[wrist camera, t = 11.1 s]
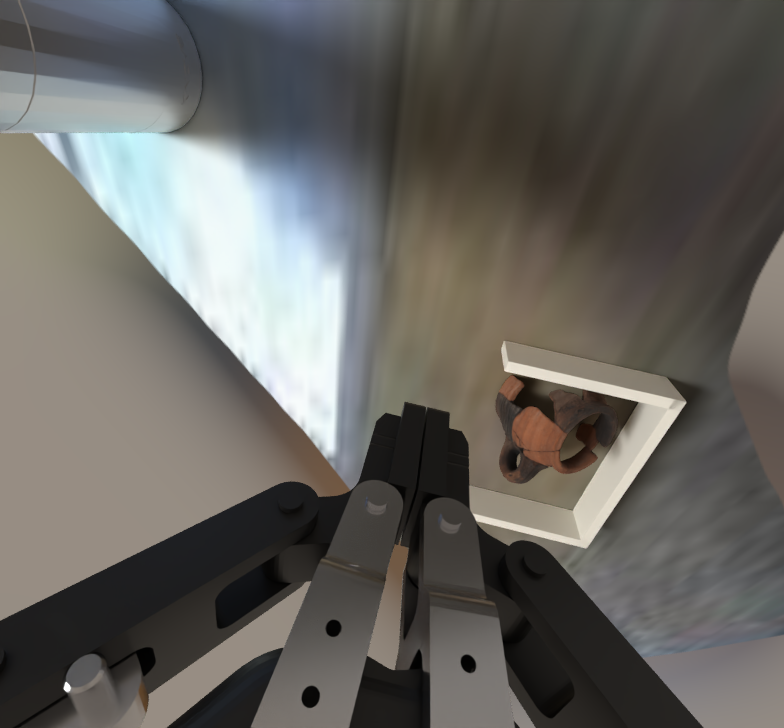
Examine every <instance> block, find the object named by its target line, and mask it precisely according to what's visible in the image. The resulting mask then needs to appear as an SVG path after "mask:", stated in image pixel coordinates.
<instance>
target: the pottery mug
mask: <svg viewBox="0 0 784 728" xmlns="http://www.w3.org/2000/svg"><path fill="white" fill-rule="evenodd" d="M523 387H524V383H523V382H522V381H520V380H518V379H517V378H516V377H515V376H514V375H511V376H510V377H509V378H508V379H507V380H506V381H505V382H504V384H503V385H502V387H501V389H500V391H499V393H498V395H497V399H496V412H497V414H498V416H499V418H500V420H501V423H502V426H503V429H504V431H505V435H506V440H505V443H504V446H503V448H502V450H501V454H500V459H499V465H500V469H501V472H502V474H503V476H504V477H505V478H507V480H508V481H510V482H513V483H518V484H522V483H526V482H528V481H529V480H531V479H532V478H533V477H534V476H535V475H536V474H537V473H538V472H539V471H541V470H543V469H546V468H548V466H549V467H552V466H553V467H554V469H556V470H557V471H558V472H560V473H563V474H564V473H565V474H570V473H575V472H578V471H581V470H582V469H585V468H586V467H588V466H589V465H591V464H592V463H594V462H595V461H596V460H597V458H598V457H597V456H596V455H595V454H594V453H593V452H592V450H593V448H595V446H596V445H597V443H598V442H600V444H601V445H602V446H603V447H607V446H608V445H609V444H610V443H611V442H612V440H613V438H614V436H615V433H616V431H617V426H618V418H617V414H616V411H615V410H614V409H613V408H612V407H610V406H609V405H607V402H606V400H605V397H604V395H603V394H602V393H598V392H593V391H589V390H585V389H583V395H582V399H581V398H580V397H579V396H578V395H576V394H574V393H568V392H565V391H563V390H555V391H552V392H550V393H549V397H550V399H551V400H552V401H553V402H554V411H555V416H554V417H555V420H554V421H552V420H551V419H549V418H548V417H547V416H546V415H544V414H543V413H542V412H541V410H540V409H539V408H537V407H533V406H529V407H527V408H525V409H524V410H523V409H522V408H520V407H518V406H517V405H515V403H514V400H515V398H516V396H517V395H518V393H519V392H520V391H521V390H522V388H523ZM596 413H601V414H600V416H599V418H598V419H597V420H596V422H595V423H594V425H591V424H585V423H582V424H581V425H580V426H579V429H578V430H577V433H576V438H577V439H578V440H579V441H582V442H583V443H584V444H585V445H586V446H585V447H584V448H583V449H582V450H581V451H579V452H578V453H577V454H576V455H575V456H573V457H571V458H569V459H566V460H564V461H560V449H561V447H562V444H563V442H564V440H565V438H566V436H567V434H568V433H569V432H570V431H571V430H572V429H573V428H574V427H575V426H576V425H577V424H578V423H579V422H580V421H582V420H583V419H585V418H587V417H588V416H590V415H593V414H596ZM518 454H520V456H521V460H520V464H519V466H518V468H517V464H516V462H517V456H518Z"/></svg>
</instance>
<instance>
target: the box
mask: <svg viewBox="0 0 784 728" xmlns="http://www.w3.org/2000/svg"><path fill="white" fill-rule="evenodd" d="M501 352H502V358H503V364H504V371H507V372H511V373H515V374H520V375H524V376H528V377H533V378H537V379H541V380H546V381H550V382H554V383H559V384H563V385H567V386H572V387H576V388H580V389H585V390H589V391H593V392H598V393H602V394H606V395H611V396H615V397H619V398H624V399H628V400H632V401H637V402H638V404H637V406H636V407H635V409H634V411H633V412H632V414H631V416H630V417H629V419H628V421H627V422H626V424H625V425H624V427H623V429H622V430H621V432H620V434H619V435H618V437H617V439H616V440H615V442H614V444H613V445H612V447H611V449H610V450H609V452H608V453H607V455H606V457H605V458H604V460H603V462H602V463H601V465H600V467H599V468H598V470H597V472H596V473H595V475H594V476H593V478H592V480H591V481H590V483H589V485H588V486H587V488H586V490H585V491H584V493H583V495H582V496H581V498H580V500H579V501H578V503H577V504H576V506H575V508H574V509H573V510H568V509H564V508H560V507H556V506H552V505H548V504H544V503H540V502H536V501H532V500H528V499H524V498H520V497H516V496H512V495H507V494H503V493H499V492H495V491H491V490H487V489H483V488H479V487H475V486H471V485H469V495H470V511H471V512H472V514H473V515H474V517H475V520H476V521H479V522H483V523H487V524H491V525H495V526H499V527H503V528H507V529H511V530H515V531H519V532H523V533H527V534H531V535H535V536H539V537H543V538H547V539H551V540H555V541H559V542H563V543H567V544H571V545H575V546H579V547H583V548H587V547H588V546H589V544H590V543H591V541H592V540H593V538H594V537H595V535H596V534H597V532H598V531H599V530H600V528H601V527H602V525H603V524H604V522H605V521H606V519H607V518H608V516H609V515H610V513H611V512H612V511H613V509H614V508H615V506H616V505H617V503H618V502H619V500H620V499H621V497H622V496H623V494H624V493H625V492H626V490H627V489H628V487H629V486H630V484H631V483H632V481H633V480H634V478H635V477H636V475H637V474H638V473H639V471H640V470H641V468H642V467H643V465H644V464H645V462H646V461H647V459H648V458H649V457H650V455H651V454H652V452H653V451H654V449H655V448H656V446H657V445H658V443H659V442H660V440H661V439H662V438H663V436H664V435H665V433H666V432H667V430H668V429H669V427H670V426H671V424H672V423H673V421H674V420H675V419H676V417H677V416H678V414H679V413H680V411H681V410H682V408H683V407H684V405H685V404H686V401H685V399H684V398H683V397H682V396H681V394H680V393H679V392H678V391H677V389H676V388H675V387H674V386H673V385H672V383H671V382H670V381H669V380H668V378H667V377H664V376H660V375H655V374H651V373H646V372H642V371H637V370H633V369H629V368H624V367H620V366H615V365H611V364H607V363H602V362H598V361H593V360H589V359H584V358H580V357H576V356H571V355H567V354H562V353H558V352H554V351H549V350H545V349H540V348H536V347H531V346H527V345H523V344H518V343H514V342H509V341H505V340H504V343H503V346H502V349H501Z"/></svg>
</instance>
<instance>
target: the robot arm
mask: <svg viewBox="0 0 784 728" xmlns="http://www.w3.org/2000/svg"><path fill="white" fill-rule="evenodd" d="M201 91H202V71H201V64H200V58H199V55H198V52H197V48H196V45H195V42H194V40H193V38H192V36H191V34H190V31H189V29H188V27H187V26H186V24H185V23H184V21H183V20H182V18H181V17H180V15H179V14H178V13H177V12H176V10H175V9H174V8H173V7H172V6H171V5H170V4H169V3H168V2H167V1H166V0H0V133H162V132H171V131H174V130H177V129H179V128H181V127H182V126H183V125H185V124H186V123H187V122H188V121H189V120H190V119H191V117H192V116H193V115H194V113H195V111H196V109H197V106H198V104H199V101H200V96H201ZM449 416H450V414H449V412H446V411H441V410H437V409H433V408H429V407H427V410H426V407H425V406H421V405H416V404H412V403H408V402H405V403H404V406H403V410H402V414H401V416H396V415H392V414H388V413H385V414H384V415H383V416H382V417H381V418H380V419H378V420H377V421H376V425H375V428H374V432H373V435H372V438H371V442H370V445H369V449H368V452H367V456H366V459H365V462H364V466H363V469H362V473H361V476H360V479H359V482H358V483H357V485H356V486H355V487H354V488H353V489H352V490H350V491H349V492H347V493H345V494H342V495H338V496H330V497H318V496H317V494H316V492H315V491H314V490H313V489H312V488H311V487H309V486H308V485H306V484H303V483H300V482H284V483H280V484H278V485H276V486H274V487H272V488H270V489H268V490H265V491H263V492H261V493H259V494H257V495H255V496H253V497H251V498H249V499H247V500H245V501H243V502H241V503H239V504H237V505H235V506H233V507H231V508H229V509H227V510H225V511H223V512H221V513H219V514H217V515H215V516H213V517H210V518H209V519H207V520H204V521H202V522H201V523H198V524H196V525H194V526H192V527H190V528H188V529H186V530H184V531H182V532H180V533H178V534H176V535H174V536H172V537H170V538H168V539H166V540H164V541H162V542H160V543H158V544H156V545H153V546H151V547H149V548H147V549H145V550H143V551H141V552H140V553H137V554H135V555H133V556H131V557H129V558H127V559H125V560H123V561H121V562H119V563H117V564H115V565H113V566H111V567H109V568H107V569H105V570H103V571H101V572H99V573H96V574H94V575H92V576H90V577H88V578H86V579H84V580H82V581H80V582H78V583H76V584H74V585H72V586H70V587H68V588H66V589H64V590H62V591H60V592H58V593H56V594H54V595H52V596H50V597H48V598H46V599H44V600H42V601H40V602H37V603H35V604H33V605H31V606H30V607H27V608H25V609H23V610H21V611H19V612H17V613H15V614H13V615H11V616H9V617H7V618H5V619H3V620H1V621H0V728H140V726H141V724H142V723H143V720H144V718H145V715H146V712H147V708H148V702H149V694H150V693H151V692H153V691H154V690H155V689H157V688H158V687H159V686H161V685H162V684H164V683H165V682H167V681H168V680H170V679H171V678H172V677H174V676H175V675H177V674H178V673H179V672H181V671H182V670H184V669H185V668H187V667H188V666H189V665H191V664H192V663H194V662H195V661H197V660H198V659H199V658H201V657H202V656H204V655H205V654H206V653H208V652H209V651H211V650H212V649H213V648H215V647H216V646H218V645H219V644H221V643H222V642H223V641H225V640H226V639H228V638H229V637H231V636H232V635H233V634H235V633H236V632H237V631H239V630H240V629H242V628H243V627H245V626H246V625H248V624H249V623H250V622H252V621H253V620H255V619H256V618H258V617H259V616H260V615H262V614H263V613H264V612H266V611H268V610H269V609H270V608H272V607H273V606H274V605H276V604H277V603H279V602H280V601H282V600H283V599H285V598H286V597H287V596H289V595H290V594H292V593H293V592H294V591H296V590H297V589H299V588H300V587H301V586H302V585H303V584H304V583H305V582H306V581H311V584H310V586H309V588H308V591H307V593H306V596H305V598H304V600H303V603H302V605H301V608H300V610H299V613H298V615H297V617H296V620H295V622H294V624H293V627H292V629H291V632H290V634H289V636H288V639H287V641H286V644H285V646H284V648H280V649H276V650H273V651H270V652H267V653H265V654H263V655H261V656H259V657H257V658H254V659H253V660H251V661H250V662H248V663H247V664H245V665H243V666H242V667H241V668H240V669H238V670H237V671H235V672H234V673H233V674H232V675H231V676H229V677H228V678H227V679H226V680H224V681H223V682H222V683H221V684H220V685H218V686H217V687H216V688H215V689H213V690H212V691H211V692H210V693H209V694H208V695H206V696H205V697H204V698H202V699H201V700H200V701H199V702H198V703H196V704H195V705H194V706H193V707H191V708H190V709H189V710H188V711H187V712H185V713H184V714H183V715H182V716H180V717H179V718H178V719H177V720H176V721H174V722H173V723H172V724H171V725H169V726H168V727H167V728H519V726H518V725H517V724H516V723H515V721H514V718H513V712H512V705H511V698H510V691H509V686H510V687H511V689H512V691H513V692H514V694H515V695H516V697H517V699H518V700H519V702H520V703H521V705H522V707H523V708H524V710H525V711H526V713H527V715H528V716H529V718H530V719H531V721H532V722H533V724H534V726H535V727H536V728H703V727H702V726H701V724H700V723H699V722H698V721H697V720H696V719H695V718H694V716H693V715H692V714H691V713H690V712H689V711H688V710H687V708H686V707H685V706H684V705H683V704H682V703H681V702H680V700H679V699H678V698H677V697H676V696H675V695H674V694H673V693H672V691H671V690H670V689H669V688H668V687H667V686H666V685H665V684H664V682H663V681H662V680H661V679H660V678H659V676H658V675H657V674H656V673H655V672H654V671H653V670H652V669H651V667H650V666H649V665H648V664H647V663H646V662H645V661H644V660H643V658H642V657H641V656H640V655H639V654H638V653H637V651H636V650H635V649H634V648H633V647H632V646H631V645H630V643H629V642H628V641H627V640H626V639H625V638H624V637H623V635H622V634H621V633H620V632H619V631H618V630H617V629H616V627H615V626H614V625H613V624H612V623H611V622H610V621H609V619H608V618H607V617H606V616H605V615H604V614H603V613H602V611H601V610H600V609H599V608H598V607H597V606H596V605H595V604H594V602H593V601H592V600H591V599H590V598H589V597H588V596H587V594H586V593H585V592H584V591H583V590H582V589H581V588H580V586H579V585H578V584H577V583H576V582H575V581H574V580H573V578H572V577H571V576H570V575H569V574H568V573H567V572H566V570H565V569H564V568H563V567H562V566H561V565H560V564H559V562H558V561H557V560H556V559H555V558H554V557H553V556H552V555H551V554H550V553H549V552H548V551H547V550H546V549H545V548H543V547H542V546H540V545H538V544H536V543H533V542H530V541H524V540H521V541H516V542H514V543H512V544H511V545H510V546H508V545H506V544H504V543H502V542H501V541H499V540H497V539H495V538H493V537H492V536H490V535H489V534H487V533H486V532H485V531H483V530H482V529H481V528H480V527H479V526H478V524H477V523H476V520H475V517H474V515H473V514H472V512H471V511H470V495H469V469H468V468H469V458H468V457H469V447H468V442H467V440H466V438H465V436H464V434H463V433H462V431H458V430H454V429H450V428H449ZM401 534H402V538H401V546H405V547H409V550H408V558H407V563H406V566H405V568H404V571H403V580H402V600H401V618H400V636H399V649H398V655H397V660H396V665H395V670H391V669H389V668H387V667H385V666H383V665H382V664H380V663H378V662H377V661H375V660H373V659H372V658H370V657H368V656H367V653H368V649H369V645H370V641H371V637H372V633H373V629H374V625H375V621H376V617H377V613H378V609H379V605H380V601H381V597H382V593H383V589H384V585H385V581H386V574H387V569H388V565H389V562H390V558H391V554H392V552H393V548H394V545H395V544H396V545H398V543H399V540H400V537H401Z"/></svg>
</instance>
